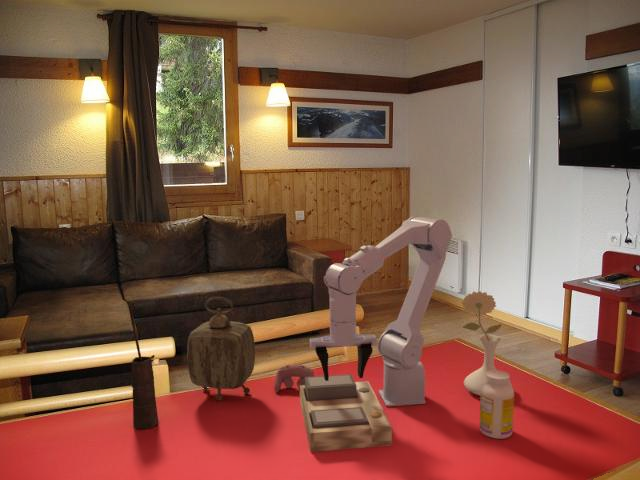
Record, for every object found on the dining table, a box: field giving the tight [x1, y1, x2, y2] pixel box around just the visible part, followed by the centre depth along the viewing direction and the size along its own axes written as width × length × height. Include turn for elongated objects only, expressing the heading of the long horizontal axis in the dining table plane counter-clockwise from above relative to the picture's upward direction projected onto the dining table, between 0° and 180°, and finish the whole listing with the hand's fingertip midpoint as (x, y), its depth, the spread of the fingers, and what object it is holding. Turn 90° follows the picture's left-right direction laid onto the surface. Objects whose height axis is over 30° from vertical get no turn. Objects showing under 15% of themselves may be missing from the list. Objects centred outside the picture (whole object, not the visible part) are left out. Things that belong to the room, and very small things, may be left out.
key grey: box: [305, 373, 356, 401], centre depth 125 cm, size 11×6×4 cm, turn 98°
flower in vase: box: [461, 291, 513, 397], centre depth 132 cm, size 13×11×25 cm
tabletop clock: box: [186, 296, 256, 402], centre depth 130 cm, size 14×9×25 cm, turn 78°
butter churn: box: [127, 300, 159, 430], centre depth 118 cm, size 9×10×28 cm
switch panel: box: [299, 380, 393, 453], centre depth 119 cm, size 16×22×4 cm
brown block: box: [311, 407, 368, 429], centre depth 113 cm, size 11×6×4 cm, turn 98°
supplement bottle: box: [479, 369, 515, 440], centre depth 114 cm, size 7×7×13 cm
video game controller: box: [274, 364, 315, 393], centre depth 136 cm, size 10×5×7 cm, turn 85°
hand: (343, 377), depth 121 cm, fingers open, 7 cm apart
